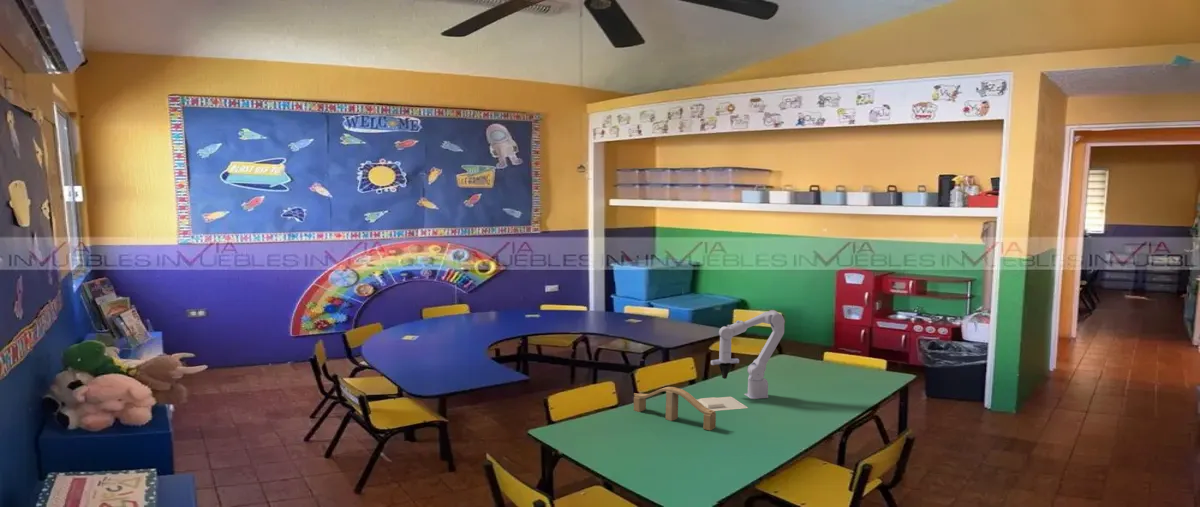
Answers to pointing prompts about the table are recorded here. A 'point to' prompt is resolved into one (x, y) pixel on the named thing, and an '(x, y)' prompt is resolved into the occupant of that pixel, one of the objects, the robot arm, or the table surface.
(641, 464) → the table surface
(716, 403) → the tile
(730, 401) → the mat
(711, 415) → the toy bridge
